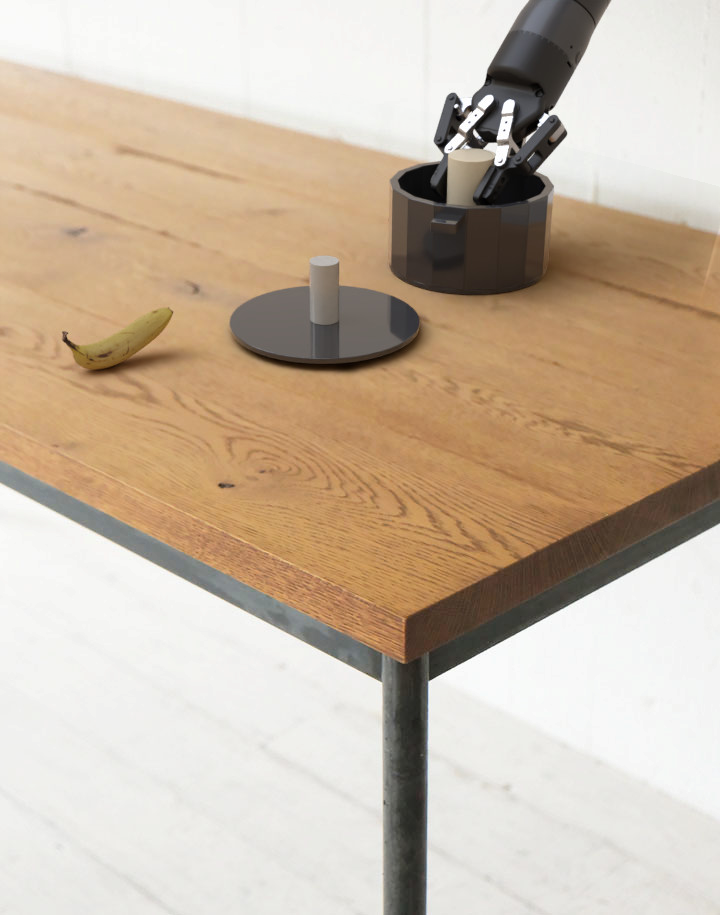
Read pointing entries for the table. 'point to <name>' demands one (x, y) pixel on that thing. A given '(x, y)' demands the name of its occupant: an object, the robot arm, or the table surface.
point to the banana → (121, 341)
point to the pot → (468, 235)
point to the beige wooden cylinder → (466, 174)
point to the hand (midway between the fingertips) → (458, 198)
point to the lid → (324, 320)
